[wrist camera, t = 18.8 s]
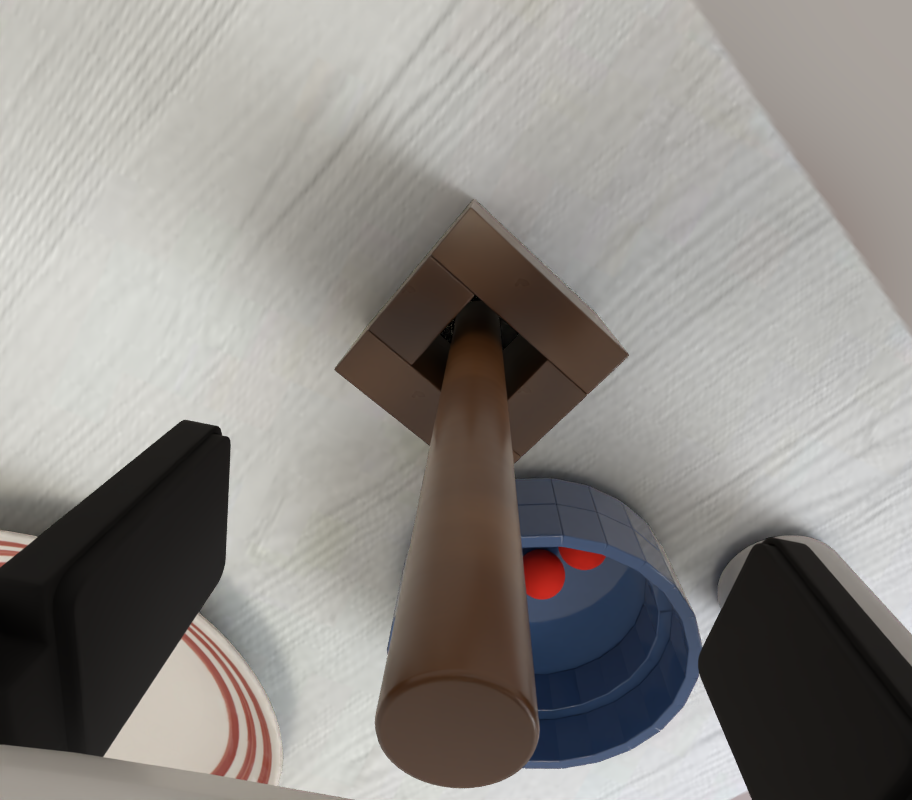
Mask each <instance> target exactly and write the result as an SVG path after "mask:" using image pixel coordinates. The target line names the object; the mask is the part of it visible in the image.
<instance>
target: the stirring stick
mask: <svg viewBox="0 0 912 800" xmlns="http://www.w3.org/2000/svg"><path fill="white" fill-rule="evenodd" d="M375 730H376V734H377V737H378V741H379V744H380V746H381V748H382V750H383V751H384V753H385V755H386V756H387V757H388V758H389V759H390V761H391V762H392V763H394V764H395V765H396V766H397V767H398V768H399V769H401V770H402V771H404V772H405V773H407V774H409V775H410V776H412V777H414V778H416V779H419V780H421V781H424V782H427V783H430V784H433V785H438V786H443V787H450V788H474V787H482V786H486V785H491V784H494V783H497V782H500V781H502V780H504V779H506V778H508V777H510V776H512V775H513V774H515V773H516V772H518V771H519V770H520V769H522V768H523V767H524V766H525V765H526V763H527V762H528V761H529V760H530V758H531V757H532V755H533V753H534V751H535V749H536V746H537V743H538V739H539V733H540V726H539V716H538V706H537V696H536V686H535V675H534V665H533V655H532V645H531V635H530V625H529V614H528V604H527V594H526V584H525V574H524V564H523V553H522V543H521V533H520V523H519V513H518V503H517V492H516V482H515V472H514V462H513V452H512V442H511V432H510V421H509V411H508V401H507V391H506V381H505V371H504V360H503V350H502V340H501V330H500V320H499V315H498V314H496V313H495V312H494V311H493V310H492V309H491V308H490V307H489V306H488V305H486V304H485V303H484V302H483V301H472V302H469V303H467V305H466V306H465V307H464V308H463V309H462V310H461V311H460V312H459V313H458V315H457V316H456V320H455V325H454V329H453V334H452V339H451V344H450V349H449V354H448V359H447V364H446V369H445V374H444V379H443V384H442V389H441V394H440V399H439V404H438V409H437V414H436V419H435V424H434V428H433V433H432V438H431V443H430V448H429V453H428V458H427V463H426V468H425V473H424V478H423V483H422V488H421V493H420V498H419V503H418V508H417V513H416V518H415V522H414V527H413V532H412V537H411V542H410V547H409V552H408V557H407V562H406V567H405V572H404V577H403V582H402V587H401V592H400V597H399V602H398V607H397V612H396V616H395V621H394V626H393V631H392V636H391V641H390V646H389V651H388V656H387V661H386V666H385V671H384V676H383V681H382V686H381V691H380V696H379V701H378V706H377V710H376V716H375Z"/></svg>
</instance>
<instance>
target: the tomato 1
mask: <svg viewBox="0 0 912 800" xmlns="http://www.w3.org/2000/svg"><path fill="white" fill-rule="evenodd" d="M523 564H524V574H525V584H526V594H527V595H529V596H530V597H532V598H535V599H540V600H543V599H549V598H551V597H553V596H555V595H556V594H557V593H559V591H560V590H561V589H562V587H563V585H564V581H565V570H564V567H563V564H562V562H561V561H560V559H559V558H558V557H557V556H556V555H555V554H553V553H552V552H550V551H547V550H542V549H538V550H533V551H530V552H528V553H527V554H525V555H524V556H523Z"/></svg>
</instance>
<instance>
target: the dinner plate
mask: <svg viewBox="0 0 912 800" xmlns="http://www.w3.org/2000/svg"><path fill="white" fill-rule="evenodd" d="M36 538H37V536H33V535H28V534H22V533H16V532H11V531H3V530H0V567H1V566H3V565H4V564H5V563H6V562H7V561H9V560H10V559H11V558H12V557H14V556H15V555H16V554H17V553H19V552H20V551H21V550H22V549H24V548H25V547H26V546H27V545H29V544H30V543H31V542H32V541H33V540H35V539H36ZM103 757H105V758H112V759H118V760H124V761H131V762H137V763H143V764H149V765H156V766H162V767H168V768H175V769H181V770H187V771H193V772H200V773H206V774H212V775H218V776H223V777H229V778H235V779H240V780H246V781H252V782H257V783H263V784H268V785H274V786H278V785H279V782H280V777H281V773H282V767H283V748H282V740H281V734H280V729H279V725H278V722H277V718H276V715H275V713H274V710H273V707H272V705H271V702H270V700H269V698H268V696H267V694H266V692H265V690H264V688H263V687H262V685H261V683H260V682H259V680H258V678H257V677H256V675H255V674H254V672H253V671H252V669H251V668H250V666H249V665H248V663H247V662H246V661H245V659H244V658H243V657H242V656H241V654H240V653H239V652H238V651H237V650H236V648H235V647H234V646H233V645H232V644H231V643H230V642H229V640H228V639H227V638H226V637H225V636H224V635H223V634H222V633H221V632H220V631H219V630H218V629H217V628H216V627H215V626H214V625H213V624H211V623H210V622H209V621H208V620H207V619H206V618H204V617H203V616H202V615H201V614H200V613H198V614H197V616H196V617H195V619H194V620H193V622H192V623H191V625H190V626H189V628H188V629H187V631H186V632H185V634H184V635H183V637H182V638H181V640H180V641H179V643H178V644H177V646H176V647H175V649H174V650H173V652H172V653H171V655H170V657H169V658H168V660H167V661H166V663H165V664H164V666H163V667H162V669H161V670H160V672H159V673H158V675H157V676H156V678H155V679H154V681H153V682H152V684H151V685H150V687H149V688H148V690H147V691H146V693H145V694H144V696H143V697H142V699H141V701H140V702H139V704H138V705H137V707H136V708H135V710H134V711H133V713H132V714H131V716H130V717H129V719H128V720H127V722H126V723H125V725H124V726H123V728H122V729H121V731H120V732H119V734H118V735H117V737H116V738H115V740H114V742H113V743H112V745H111V746H110V748H109V749H108V751H107V752H106V754H105V755H104V756H103Z"/></svg>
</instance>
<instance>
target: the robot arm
mask: <svg viewBox="0 0 912 800" xmlns="http://www.w3.org/2000/svg"><path fill="white" fill-rule="evenodd" d="M230 447H231V445H230V439H229V437H227V436H222V433H221V429H220V428H219V427H218V426H214V425H209V424H204V423H199V422H194V421H189V420H183V421H181V422H179V423H178V424H177V425H176V426H175V427H173V428H172V429H171V430H170V431H168V432H167V433H166V434H165V435H163V436H162V437H161V438H160V439H158V440H157V441H156V442H155V443H153V444H152V445H151V446H150V447H149V448H147V449H146V450H145V451H144V452H142V453H141V454H140V455H139V456H137V457H136V458H135V459H134V460H132V461H131V462H130V463H129V464H128V465H126V466H125V467H124V468H123V469H121V470H120V471H119V472H118V473H116V474H115V475H114V476H113V477H111V478H110V479H109V480H108V481H106V482H105V483H104V484H103V485H102V486H100V487H99V488H98V489H97V490H95V491H94V492H93V493H92V494H90V495H89V496H88V497H87V498H85V499H84V500H83V501H82V502H80V503H79V504H78V505H77V506H76V507H74V508H73V509H72V510H71V511H69V512H68V513H67V514H66V515H64V516H63V517H62V518H61V519H59V520H58V521H57V522H56V523H55V524H53V525H52V526H51V527H50V528H48V529H47V530H46V531H45V532H43V533H42V534H41V535H40V536H38V537H37V538H36V539H35V540H33V541H32V542H31V543H30V544H29V545H27V546H26V547H25V548H24V549H22V550H21V551H20V552H19V553H17V554H16V555H15V556H14V557H12V558H11V559H10V560H9V561H7V562H6V563H5V564H4V565H3V566H1V567H0V800H353V799H347V798H341V797H336V796H330V795H325V794H319V793H313V792H308V791H302V790H296V789H291V788H285V787H280V786H274V785H268V784H263V783H257V782H252V781H246V780H240V779H235V778H229V777H223V776H218V775H212V774H206V773H200V772H193V771H187V770H181V769H175V768H168V767H162V766H156V765H149V764H143V763H137V762H131V761H124V760H118V759H112V758H105V757H103V756H104V755H105V754H106V752H107V751H108V749H109V748H110V746H111V745H112V743H113V742H114V740H115V738H116V737H117V735H118V734H119V732H120V731H121V729H122V728H123V726H124V725H125V723H126V722H127V720H128V719H129V717H130V716H131V714H132V713H133V711H134V710H135V708H136V707H137V705H138V704H139V702H140V701H141V699H142V697H143V696H144V694H145V693H146V691H147V690H148V688H149V687H150V685H151V684H152V682H153V681H154V679H155V678H156V676H157V675H158V673H159V672H160V670H161V669H162V667H163V666H164V664H165V663H166V661H167V660H168V658H169V657H170V655H171V653H172V652H173V650H174V649H175V647H176V646H177V644H178V643H179V641H180V640H181V638H182V637H183V635H184V634H185V632H186V631H187V629H188V628H189V626H190V625H191V623H192V622H193V620H194V619H195V617H196V616H197V614H198V613H199V611H200V609H201V608H202V606H203V605H204V603H205V602H206V600H207V599H208V597H209V596H210V594H211V593H212V591H213V590H214V588H215V587H216V585H217V584H218V582H219V580H220V578H221V576H222V573H223V570H224V566H225V559H226V537H227V515H228V492H229V470H230ZM698 670H699V674H700V677H701V680H702V682H703V684H704V687H705V689H706V692H707V694H708V696H709V699H710V701H711V703H712V706H713V708H714V710H715V713H716V715H717V718H718V720H719V722H720V725H721V727H722V729H723V732H724V734H725V737H726V739H727V741H728V744H729V746H730V748H731V751H732V753H733V756H734V758H735V760H736V763H737V765H738V767H739V770H740V772H741V775H742V777H743V779H744V782H745V784H746V786H747V789H748V791H749V794H750V796H751V798H752V800H912V666H911V665H910V664H909V662H908V661H907V660H906V659H905V658H904V657H903V655H902V654H901V653H900V652H899V651H898V650H897V648H896V647H895V646H894V645H893V644H892V643H891V641H890V640H889V639H888V638H887V637H886V636H885V635H884V633H883V632H882V631H881V630H880V629H879V628H878V626H877V625H876V624H875V623H874V622H873V621H872V619H871V618H870V617H869V616H868V615H867V614H866V612H865V611H864V610H863V609H862V608H861V607H860V605H859V604H858V603H857V602H856V601H855V600H854V598H853V597H852V596H851V595H850V594H849V593H848V591H847V590H846V589H845V588H844V587H843V586H842V584H841V583H840V582H839V581H838V580H837V579H836V577H835V576H834V575H833V574H832V573H831V572H830V571H829V569H828V568H827V567H826V566H825V565H824V564H823V562H822V561H821V560H820V559H819V558H818V557H817V555H816V554H815V553H814V552H813V551H812V550H811V548H810V547H808V546H807V545H806V544H803V543H799V542H794V541H789V540H784V539H779V538H774V537H770V538H767V539H765V540H764V541H763V542H762V543H758V544H755V545H754V546H753V547H752V549H751V550H750V552H749V554H748V556H747V558H746V560H745V563H744V565H743V567H742V569H741V571H740V573H739V575H738V577H737V579H736V581H735V583H734V585H733V587H732V589H731V591H730V593H729V595H728V597H727V599H726V601H725V603H724V605H723V607H722V609H721V611H720V613H719V615H718V617H717V619H716V621H715V623H714V625H713V627H712V629H711V631H710V633H709V635H708V637H707V639H706V641H705V643H704V645H703V647H702V649H701V651H700V654H699V658H698Z"/></svg>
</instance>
